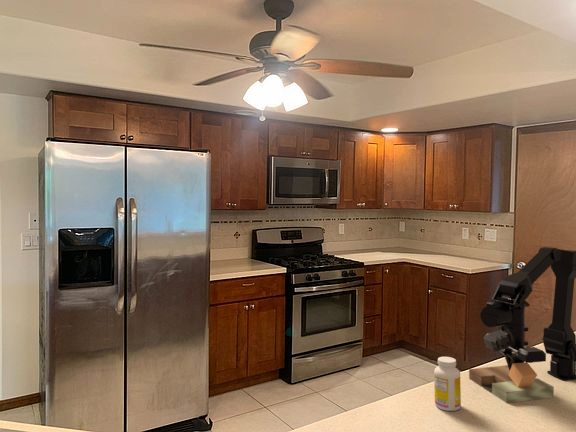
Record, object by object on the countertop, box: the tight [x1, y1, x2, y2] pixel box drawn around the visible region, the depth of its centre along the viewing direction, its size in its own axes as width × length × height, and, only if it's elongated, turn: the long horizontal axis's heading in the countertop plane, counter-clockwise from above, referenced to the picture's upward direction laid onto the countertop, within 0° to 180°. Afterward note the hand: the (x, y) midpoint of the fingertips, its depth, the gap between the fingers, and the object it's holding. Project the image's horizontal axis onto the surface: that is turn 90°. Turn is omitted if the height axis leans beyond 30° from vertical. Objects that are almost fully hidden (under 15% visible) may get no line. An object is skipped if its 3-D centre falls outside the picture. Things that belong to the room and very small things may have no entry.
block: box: [508, 362, 538, 387], centre depth 124 cm, size 4×4×4 cm
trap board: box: [468, 364, 555, 404], centre depth 130 cm, size 15×17×3 cm
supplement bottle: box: [433, 356, 462, 412], centre depth 119 cm, size 7×7×13 cm
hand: (513, 375), depth 128 cm, fingers closed
